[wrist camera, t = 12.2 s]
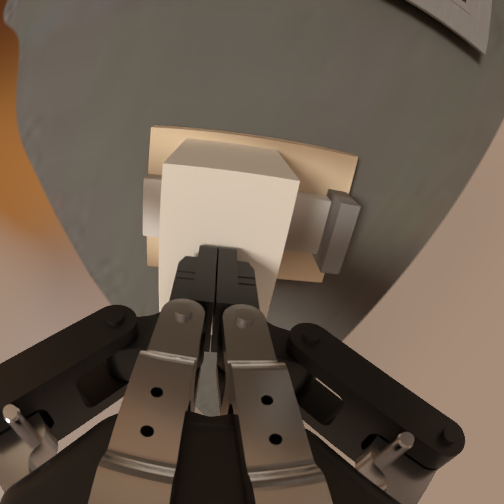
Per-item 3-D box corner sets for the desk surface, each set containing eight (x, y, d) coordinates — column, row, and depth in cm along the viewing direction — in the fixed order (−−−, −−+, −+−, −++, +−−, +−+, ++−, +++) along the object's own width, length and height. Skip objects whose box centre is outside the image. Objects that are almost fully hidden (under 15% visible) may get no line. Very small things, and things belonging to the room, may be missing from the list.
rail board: (155, 125, 16) (139, 133, 13) (352, 153, 17) (375, 167, 15) (150, 257, 20) (138, 286, 17) (318, 274, 22) (330, 304, 19)
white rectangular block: (252, 272, 20) (260, 340, 15) (176, 263, 19) (160, 330, 14) (276, 149, 16) (299, 181, 11) (186, 137, 16) (163, 163, 10)
